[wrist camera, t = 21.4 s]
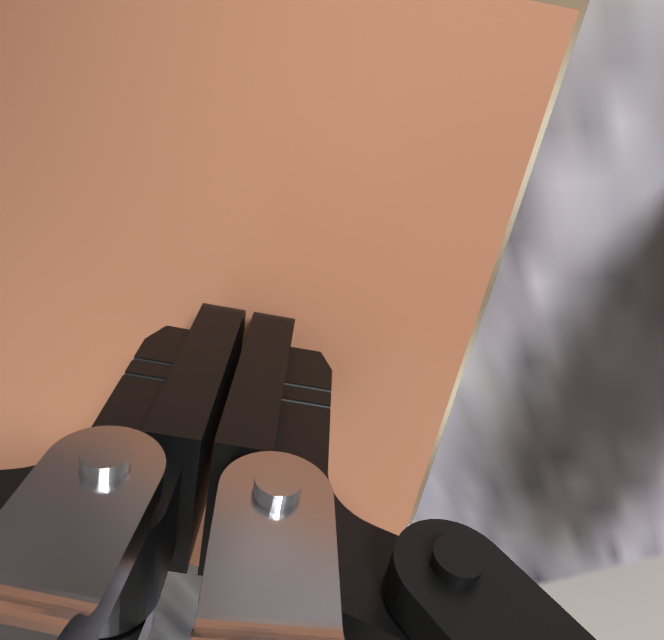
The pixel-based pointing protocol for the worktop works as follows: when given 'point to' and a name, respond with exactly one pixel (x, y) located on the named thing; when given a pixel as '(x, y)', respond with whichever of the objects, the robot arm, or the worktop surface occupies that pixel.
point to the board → (580, 3)
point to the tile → (263, 200)
